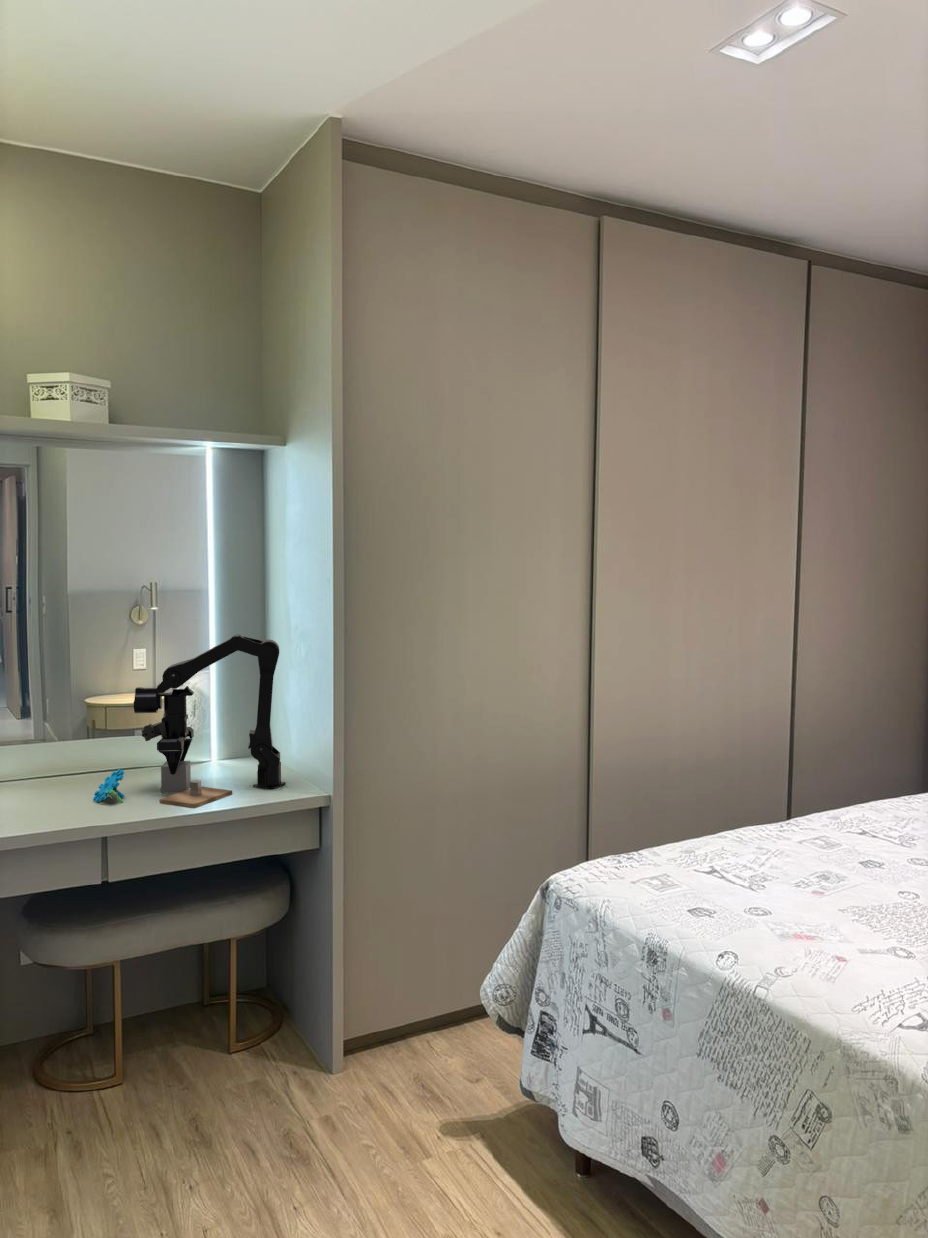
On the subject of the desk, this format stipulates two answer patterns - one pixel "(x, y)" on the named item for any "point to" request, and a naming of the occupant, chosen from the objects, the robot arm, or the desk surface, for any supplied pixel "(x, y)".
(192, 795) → the board
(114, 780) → the blue lumpy piece
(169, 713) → the robot arm
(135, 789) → the desk surface
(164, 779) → the grey cube with hole
